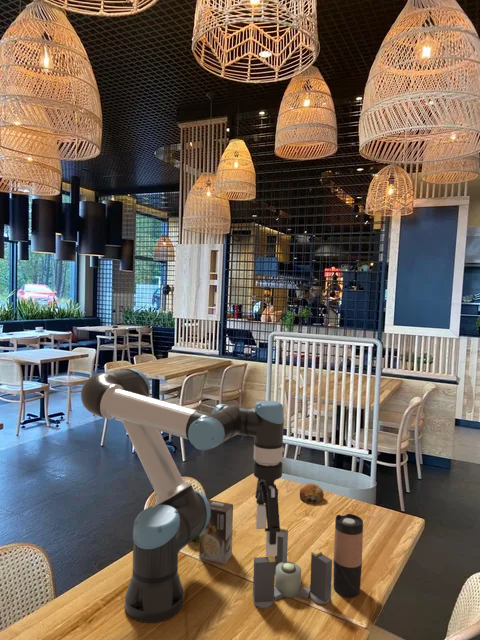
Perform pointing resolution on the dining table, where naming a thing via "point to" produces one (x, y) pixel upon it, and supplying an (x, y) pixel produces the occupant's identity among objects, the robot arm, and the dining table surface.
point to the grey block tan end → (281, 546)
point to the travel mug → (348, 555)
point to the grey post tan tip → (320, 578)
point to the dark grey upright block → (263, 581)
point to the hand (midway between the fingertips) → (265, 541)
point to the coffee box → (217, 533)
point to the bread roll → (311, 493)
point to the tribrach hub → (289, 581)
